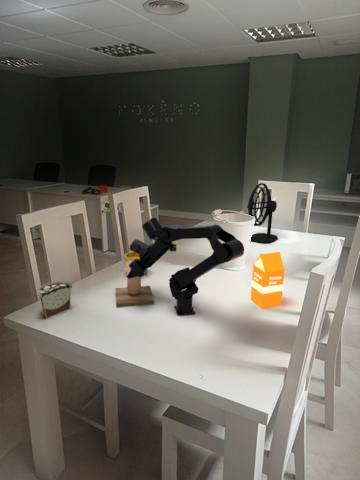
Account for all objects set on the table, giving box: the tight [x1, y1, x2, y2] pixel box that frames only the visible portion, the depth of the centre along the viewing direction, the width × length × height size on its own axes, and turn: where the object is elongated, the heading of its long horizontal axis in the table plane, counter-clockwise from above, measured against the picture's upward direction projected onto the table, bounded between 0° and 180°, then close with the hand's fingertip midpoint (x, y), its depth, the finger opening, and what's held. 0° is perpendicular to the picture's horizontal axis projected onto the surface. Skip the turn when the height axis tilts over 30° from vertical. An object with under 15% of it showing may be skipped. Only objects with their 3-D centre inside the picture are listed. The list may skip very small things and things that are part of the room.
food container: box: [37, 280, 73, 320], centre depth 122 cm, size 12×6×10 cm, turn 141°
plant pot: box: [124, 251, 140, 265], centre depth 157 cm, size 10×10×10 cm
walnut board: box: [114, 285, 155, 308], centre depth 135 cm, size 14×14×2 cm
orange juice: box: [250, 251, 285, 309], centre depth 129 cm, size 8×9×20 cm
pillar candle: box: [126, 260, 142, 294], centre depth 132 cm, size 5×5×12 cm
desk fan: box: [246, 182, 279, 244], centre depth 215 cm, size 27×18×35 cm, turn 143°
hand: (130, 275), depth 132 cm, fingers closed on pillar candle, 5 cm apart
